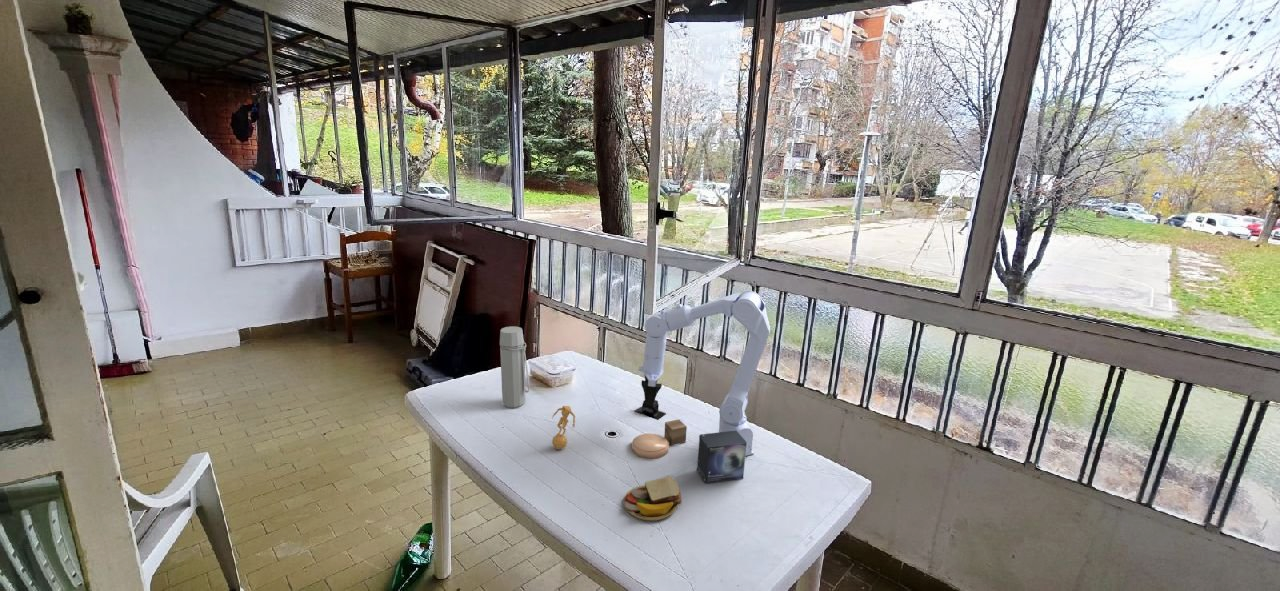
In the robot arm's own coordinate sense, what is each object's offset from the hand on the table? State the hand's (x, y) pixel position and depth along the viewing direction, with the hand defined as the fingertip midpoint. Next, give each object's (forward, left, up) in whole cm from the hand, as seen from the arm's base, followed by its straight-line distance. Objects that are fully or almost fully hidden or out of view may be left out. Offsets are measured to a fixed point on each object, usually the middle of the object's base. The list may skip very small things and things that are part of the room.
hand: (649, 398), depth 155 cm
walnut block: (-7, -5, -11) cm, 14 cm away
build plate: (+10, -6, -11) cm, 16 cm away
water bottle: (+31, +32, -11) cm, 46 cm away
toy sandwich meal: (-31, +14, -11) cm, 35 cm away
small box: (-27, -7, -11) cm, 30 cm away
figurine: (+1, +26, -11) cm, 28 cm away
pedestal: (-9, +4, -10) cm, 14 cm away
